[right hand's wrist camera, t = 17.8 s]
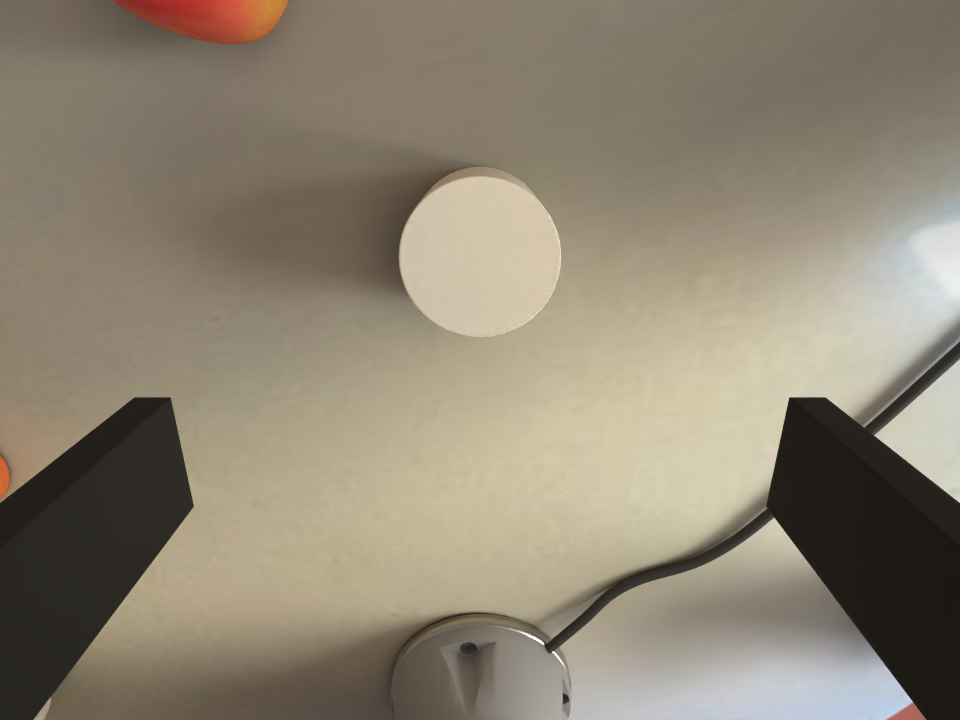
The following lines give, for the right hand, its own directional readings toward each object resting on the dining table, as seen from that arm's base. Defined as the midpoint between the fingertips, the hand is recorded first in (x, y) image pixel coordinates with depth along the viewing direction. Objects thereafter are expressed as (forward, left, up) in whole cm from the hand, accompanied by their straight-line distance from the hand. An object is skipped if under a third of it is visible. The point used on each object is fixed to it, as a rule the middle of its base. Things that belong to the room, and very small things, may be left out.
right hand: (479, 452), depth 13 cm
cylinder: (0, 0, -26) cm, 26 cm away
